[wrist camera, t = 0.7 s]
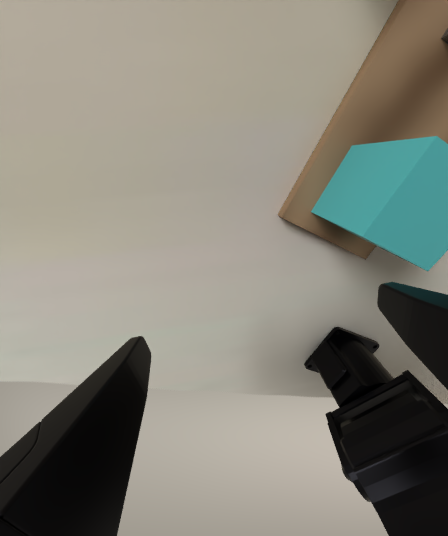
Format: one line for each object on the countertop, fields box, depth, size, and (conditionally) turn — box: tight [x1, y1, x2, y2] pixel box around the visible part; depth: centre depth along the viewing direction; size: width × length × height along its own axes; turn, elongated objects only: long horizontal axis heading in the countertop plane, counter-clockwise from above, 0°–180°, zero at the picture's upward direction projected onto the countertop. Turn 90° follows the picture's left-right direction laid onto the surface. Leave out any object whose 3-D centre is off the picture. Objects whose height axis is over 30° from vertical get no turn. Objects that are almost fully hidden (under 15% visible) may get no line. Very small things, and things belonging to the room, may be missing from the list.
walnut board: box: [278, 0, 448, 259], centre depth 16 cm, size 9×20×1 cm, turn 155°
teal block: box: [311, 136, 448, 271], centre depth 15 cm, size 5×5×7 cm
